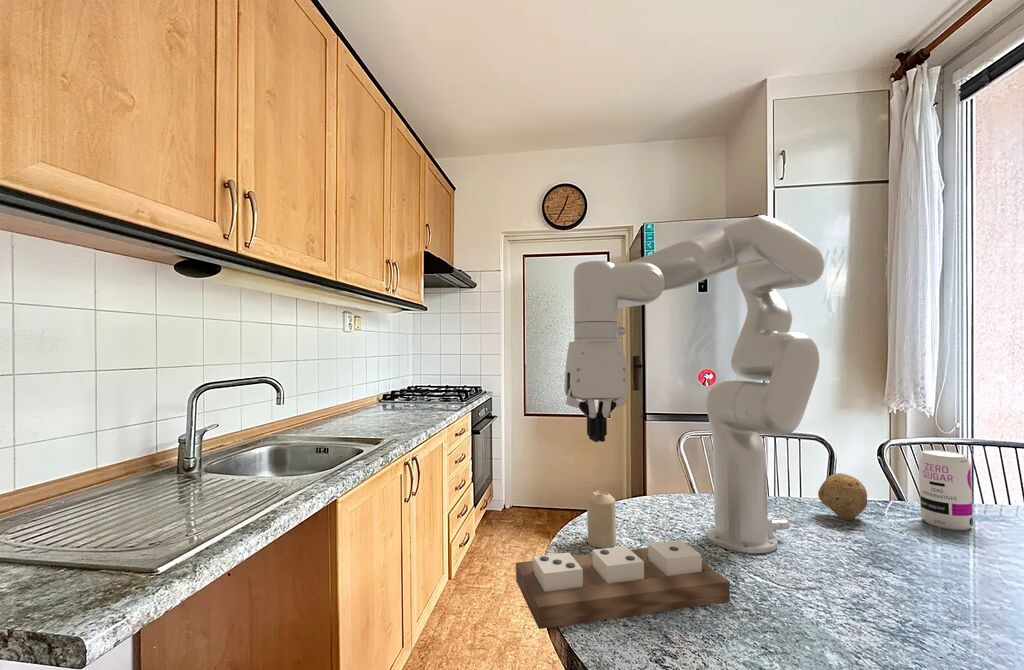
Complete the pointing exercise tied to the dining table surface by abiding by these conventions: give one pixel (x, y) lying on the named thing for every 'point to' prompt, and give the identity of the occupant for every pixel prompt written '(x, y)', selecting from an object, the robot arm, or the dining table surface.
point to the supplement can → (946, 489)
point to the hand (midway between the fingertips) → (596, 440)
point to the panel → (619, 593)
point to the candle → (601, 520)
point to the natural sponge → (843, 495)
